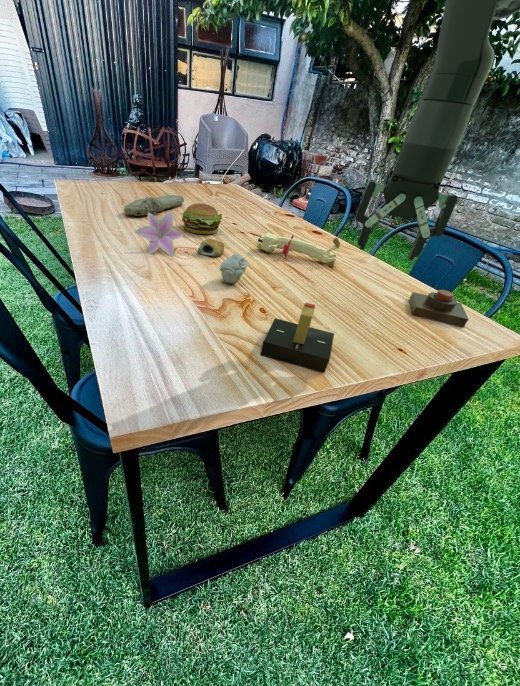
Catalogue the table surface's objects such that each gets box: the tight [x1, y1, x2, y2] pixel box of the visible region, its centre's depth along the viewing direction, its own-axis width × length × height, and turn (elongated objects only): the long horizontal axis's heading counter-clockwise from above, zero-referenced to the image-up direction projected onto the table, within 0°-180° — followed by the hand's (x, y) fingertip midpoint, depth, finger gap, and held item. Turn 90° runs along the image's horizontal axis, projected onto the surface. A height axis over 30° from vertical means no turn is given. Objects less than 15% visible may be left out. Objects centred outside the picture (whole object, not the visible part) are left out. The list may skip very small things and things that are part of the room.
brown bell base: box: [408, 291, 470, 328], centre depth 86 cm, size 12×10×4 cm
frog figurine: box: [219, 253, 248, 285], centre depth 86 cm, size 6×7×7 cm
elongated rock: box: [123, 194, 185, 217], centre depth 133 cm, size 35×5×10 cm
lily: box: [134, 210, 184, 257], centre depth 98 cm, size 12×12×10 cm
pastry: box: [197, 238, 225, 258], centre depth 103 cm, size 9×7×4 cm
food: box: [180, 202, 223, 236], centre depth 117 cm, size 14×14×8 cm
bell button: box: [435, 289, 455, 302], centre depth 85 cm, size 4×4×2 cm
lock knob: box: [293, 302, 316, 344], centre depth 63 cm, size 5×2×6 cm, turn 161°
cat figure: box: [255, 232, 341, 268], centre depth 106 cm, size 10×9×25 cm
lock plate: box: [260, 317, 335, 373], centre depth 66 cm, size 12×10×3 cm
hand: (385, 253), depth 62 cm, fingers open, 8 cm apart
